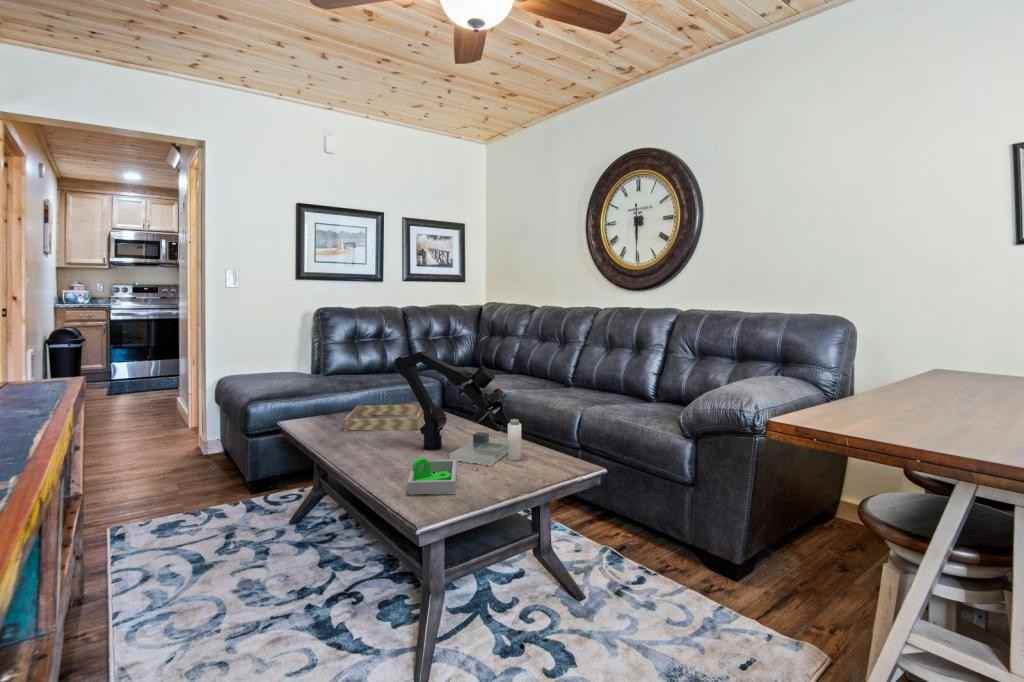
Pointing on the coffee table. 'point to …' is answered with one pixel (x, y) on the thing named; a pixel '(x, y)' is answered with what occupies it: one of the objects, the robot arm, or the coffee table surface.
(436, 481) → the parts tray
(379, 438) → the coffee table surface
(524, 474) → the coffee table surface
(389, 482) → the coffee table surface
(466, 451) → the plate
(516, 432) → the cream bottle
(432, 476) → the mechanical part
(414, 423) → the woven basket tray
